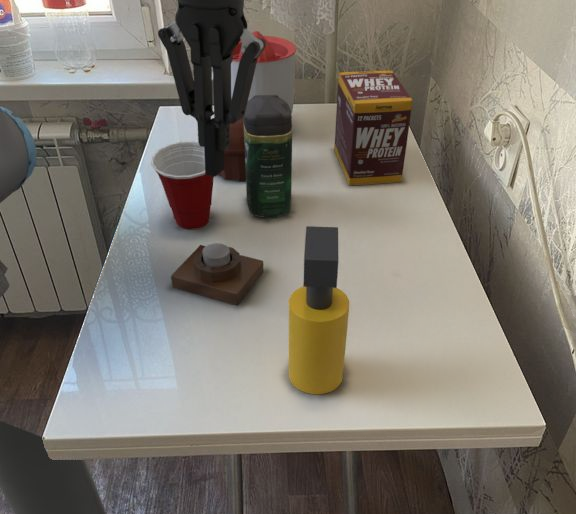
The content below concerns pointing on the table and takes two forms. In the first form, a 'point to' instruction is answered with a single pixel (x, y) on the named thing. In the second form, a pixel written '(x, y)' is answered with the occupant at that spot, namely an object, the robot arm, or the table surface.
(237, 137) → the muffin
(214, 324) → the table surface
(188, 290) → the button box
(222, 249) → the button
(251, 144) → the coffee jar
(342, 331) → the spray bottle
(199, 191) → the plastic cup
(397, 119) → the supplement box
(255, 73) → the citrus juicer
